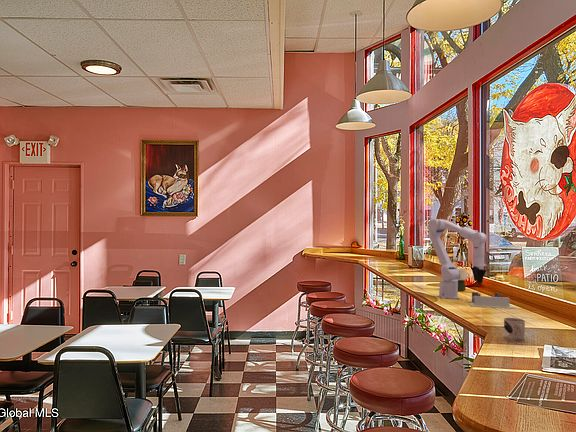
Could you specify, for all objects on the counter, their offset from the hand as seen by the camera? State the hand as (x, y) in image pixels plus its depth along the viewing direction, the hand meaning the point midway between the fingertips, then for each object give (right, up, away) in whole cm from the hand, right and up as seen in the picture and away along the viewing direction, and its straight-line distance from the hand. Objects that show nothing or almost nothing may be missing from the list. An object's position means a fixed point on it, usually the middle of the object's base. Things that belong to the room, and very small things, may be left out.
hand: (478, 281), depth 242 cm
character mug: (+5, -11, +40) cm, 41 cm away
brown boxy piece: (-2, -10, -3) cm, 11 cm away
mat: (+2, -10, -12) cm, 16 cm away
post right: (+8, -11, -5) cm, 15 cm away
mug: (-18, -10, -77) cm, 80 cm away
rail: (+2, -10, -12) cm, 16 cm away
